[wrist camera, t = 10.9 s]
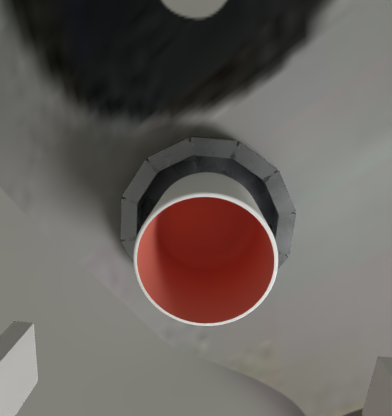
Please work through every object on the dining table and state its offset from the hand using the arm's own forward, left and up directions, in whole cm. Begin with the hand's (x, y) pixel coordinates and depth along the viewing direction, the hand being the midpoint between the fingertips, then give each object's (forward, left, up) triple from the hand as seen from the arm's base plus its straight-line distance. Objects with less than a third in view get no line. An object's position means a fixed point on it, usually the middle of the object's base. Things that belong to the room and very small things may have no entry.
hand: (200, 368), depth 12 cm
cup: (0, 0, -20) cm, 20 cm away
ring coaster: (0, 0, -20) cm, 20 cm away
